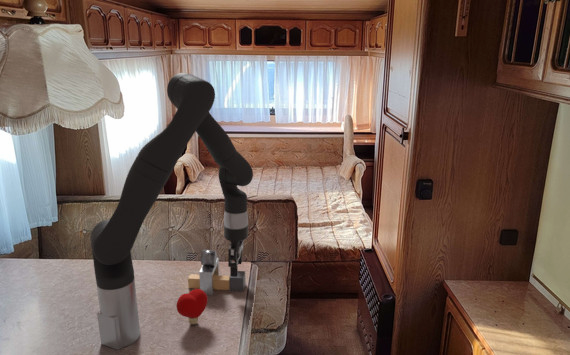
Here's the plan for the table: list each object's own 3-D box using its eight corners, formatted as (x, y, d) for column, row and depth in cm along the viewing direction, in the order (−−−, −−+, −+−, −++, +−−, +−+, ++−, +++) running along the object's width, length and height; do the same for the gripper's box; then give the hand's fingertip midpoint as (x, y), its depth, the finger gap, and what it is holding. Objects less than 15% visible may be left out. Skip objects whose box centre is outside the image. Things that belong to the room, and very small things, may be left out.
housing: (200, 294, 136) (198, 257, 133) (208, 278, 146) (206, 243, 142) (212, 294, 136) (211, 258, 132) (219, 278, 146) (218, 244, 142)
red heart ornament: (200, 311, 127) (198, 282, 124) (214, 322, 122) (212, 291, 120) (172, 325, 121) (170, 294, 118) (186, 336, 116) (183, 304, 113)
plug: (187, 289, 139) (186, 275, 138) (191, 282, 144) (190, 268, 142) (243, 291, 138) (243, 278, 137) (245, 284, 142) (245, 271, 141)
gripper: (244, 233, 127) (244, 281, 132) (250, 215, 141) (250, 260, 145) (219, 231, 128) (220, 280, 132) (228, 214, 141) (228, 259, 146)
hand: (236, 269), depth 139 cm, fingers open, 8 cm apart
